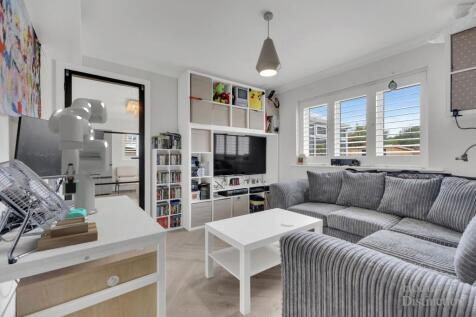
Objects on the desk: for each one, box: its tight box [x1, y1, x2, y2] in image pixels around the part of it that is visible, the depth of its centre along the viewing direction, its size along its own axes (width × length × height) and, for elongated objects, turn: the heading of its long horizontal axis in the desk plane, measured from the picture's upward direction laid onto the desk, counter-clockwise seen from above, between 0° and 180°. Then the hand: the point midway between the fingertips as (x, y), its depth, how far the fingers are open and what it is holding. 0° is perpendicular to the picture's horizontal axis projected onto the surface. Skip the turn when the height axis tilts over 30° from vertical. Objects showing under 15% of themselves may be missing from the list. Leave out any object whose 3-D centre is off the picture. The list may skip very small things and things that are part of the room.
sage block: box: [61, 180, 79, 196], centre depth 84 cm, size 5×5×5 cm
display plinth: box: [37, 215, 99, 252], centre depth 84 cm, size 16×17×7 cm
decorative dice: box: [65, 208, 87, 219], centre depth 96 cm, size 8×8×8 cm
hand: (70, 191), depth 84 cm, fingers closed on sage block, 5 cm apart
